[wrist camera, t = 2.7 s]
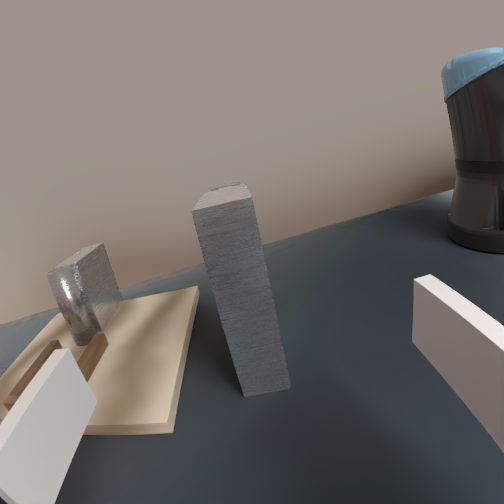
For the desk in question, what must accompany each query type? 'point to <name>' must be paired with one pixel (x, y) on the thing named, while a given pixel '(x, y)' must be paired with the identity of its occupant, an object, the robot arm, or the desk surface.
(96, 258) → the fixed leaf
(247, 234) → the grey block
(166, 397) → the hinge base
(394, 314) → the desk surface
